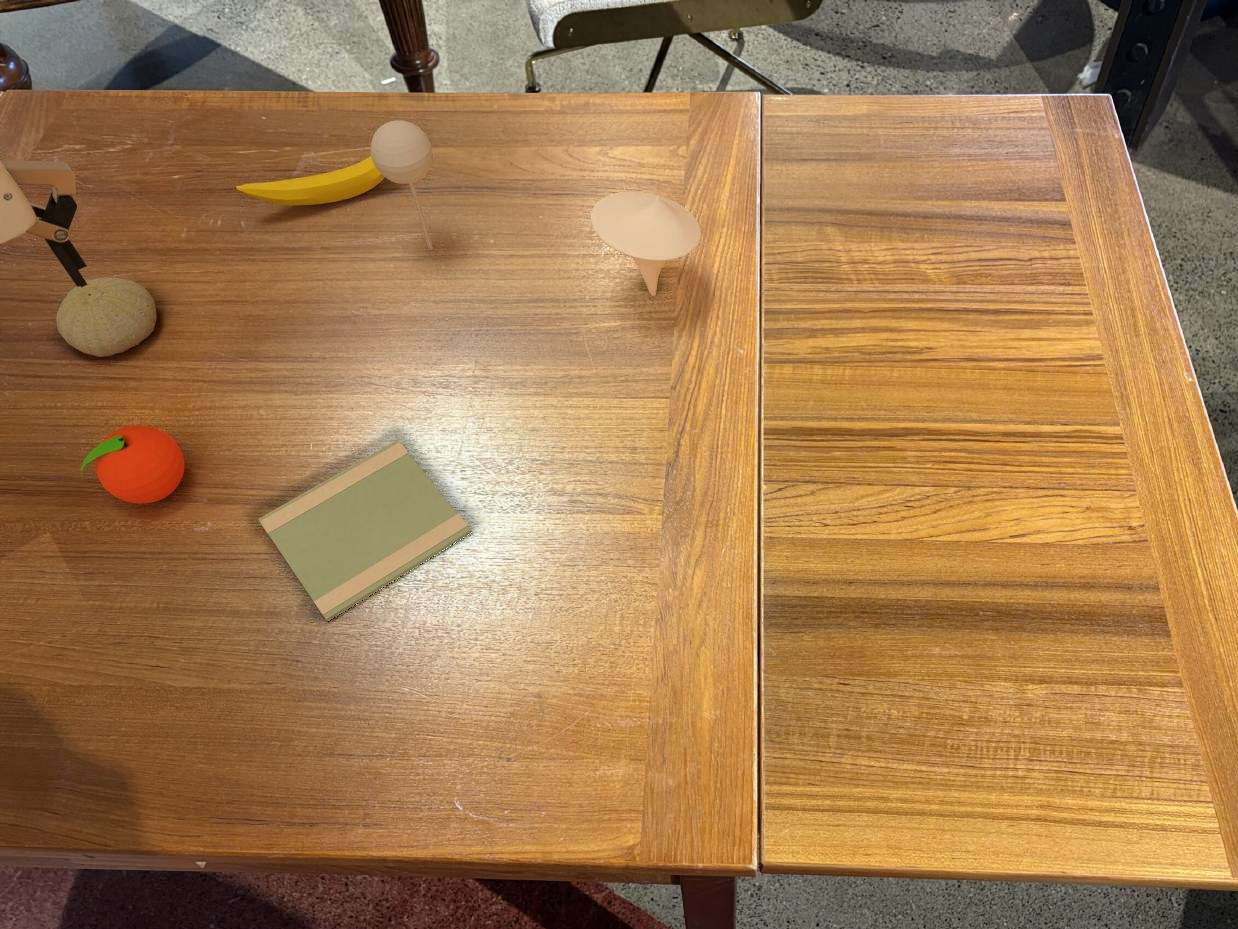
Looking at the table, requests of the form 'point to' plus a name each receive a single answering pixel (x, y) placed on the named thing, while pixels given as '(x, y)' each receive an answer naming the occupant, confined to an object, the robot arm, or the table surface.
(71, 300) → the sea urchin shell
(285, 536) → the towel
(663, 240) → the mushroom
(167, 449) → the clementine
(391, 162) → the lollipop
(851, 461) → the table surface
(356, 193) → the banana
